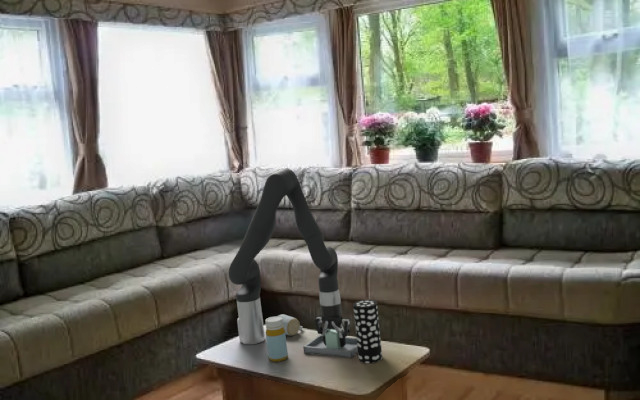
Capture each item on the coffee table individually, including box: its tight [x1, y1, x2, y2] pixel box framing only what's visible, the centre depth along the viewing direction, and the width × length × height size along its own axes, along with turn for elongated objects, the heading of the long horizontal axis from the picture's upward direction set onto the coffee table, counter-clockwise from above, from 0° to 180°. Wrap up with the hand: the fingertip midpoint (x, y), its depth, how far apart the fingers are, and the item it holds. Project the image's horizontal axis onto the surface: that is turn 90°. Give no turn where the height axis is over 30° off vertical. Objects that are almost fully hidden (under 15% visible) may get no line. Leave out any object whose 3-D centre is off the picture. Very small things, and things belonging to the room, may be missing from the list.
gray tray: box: [302, 334, 358, 359], centre depth 240 cm, size 20×13×2 cm, turn 60°
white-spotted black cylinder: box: [352, 299, 383, 364], centre depth 227 cm, size 8×8×20 cm
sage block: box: [325, 329, 342, 349], centre depth 240 cm, size 5×5×6 cm
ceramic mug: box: [278, 313, 303, 337], centre depth 263 cm, size 11×8×8 cm
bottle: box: [265, 315, 289, 363], centre depth 236 cm, size 7×7×15 cm
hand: (334, 345), depth 240 cm, fingers open, 6 cm apart
